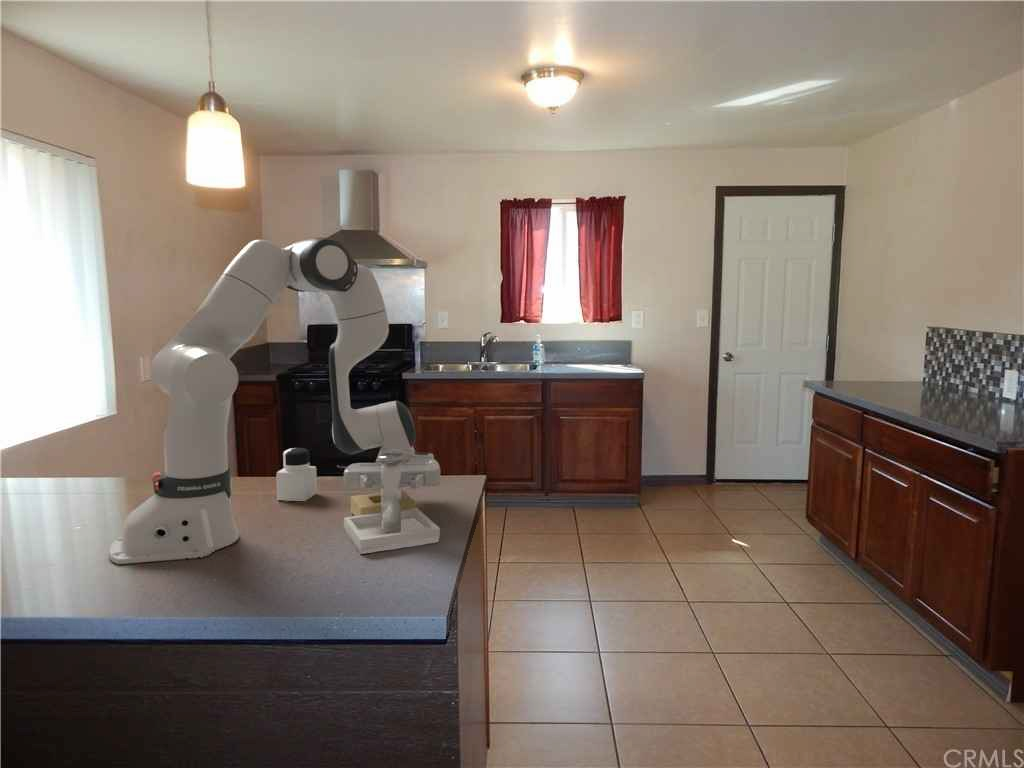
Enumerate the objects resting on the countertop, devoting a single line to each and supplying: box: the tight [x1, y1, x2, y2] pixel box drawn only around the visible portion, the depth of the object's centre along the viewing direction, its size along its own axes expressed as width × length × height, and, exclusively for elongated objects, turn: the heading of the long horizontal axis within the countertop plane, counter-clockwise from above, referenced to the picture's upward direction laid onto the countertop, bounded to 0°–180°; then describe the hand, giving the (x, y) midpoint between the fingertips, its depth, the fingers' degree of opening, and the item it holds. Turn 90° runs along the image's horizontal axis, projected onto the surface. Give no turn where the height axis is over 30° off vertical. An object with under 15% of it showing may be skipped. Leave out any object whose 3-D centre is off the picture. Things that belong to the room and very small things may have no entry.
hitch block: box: [350, 489, 415, 516], centre depth 146 cm, size 12×9×4 cm
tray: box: [343, 507, 441, 551], centre depth 134 cm, size 16×14×3 cm
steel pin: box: [377, 453, 404, 535], centre depth 133 cm, size 5×5×16 cm
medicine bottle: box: [276, 447, 318, 502], centre depth 158 cm, size 7×7×12 cm
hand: (390, 485), depth 132 cm, fingers open, 8 cm apart
